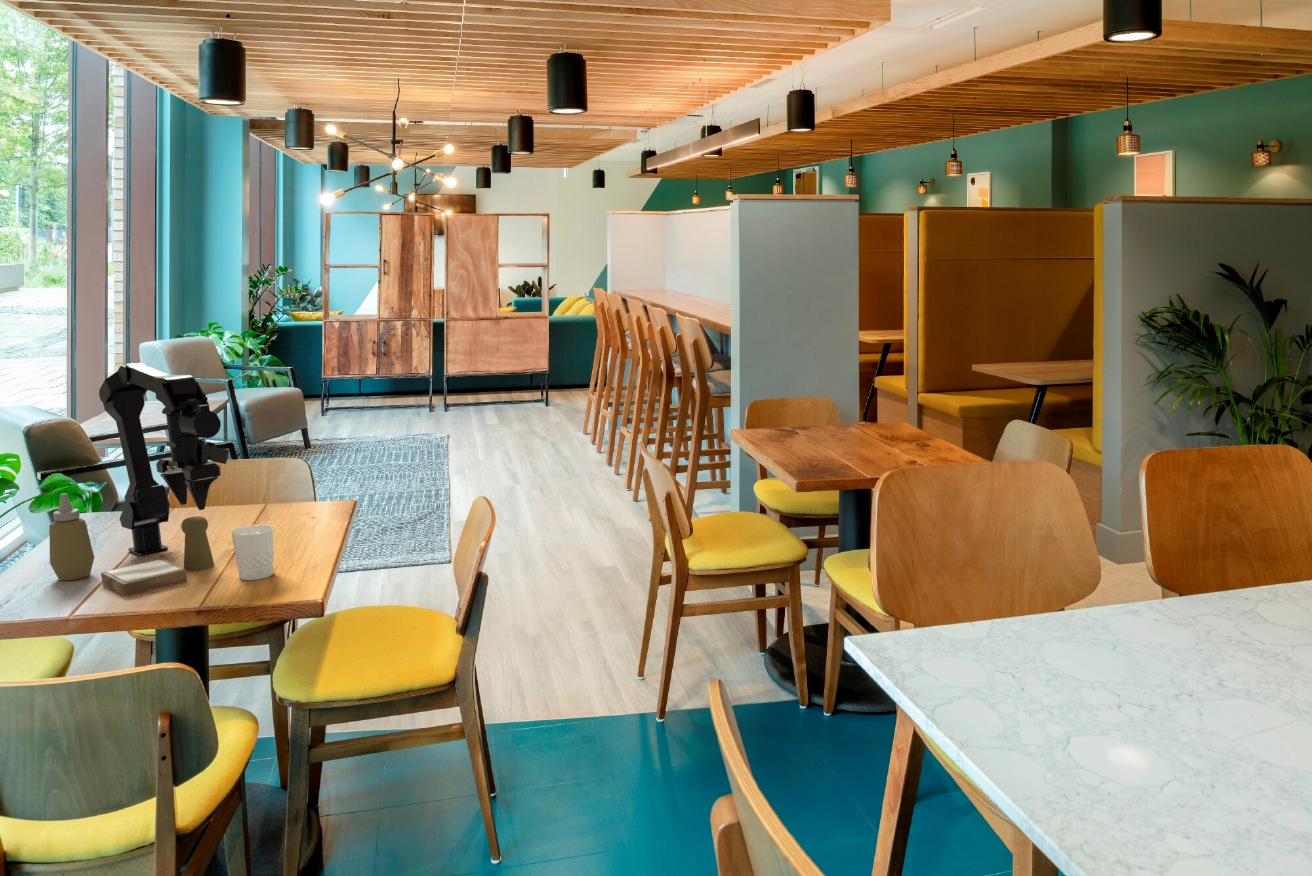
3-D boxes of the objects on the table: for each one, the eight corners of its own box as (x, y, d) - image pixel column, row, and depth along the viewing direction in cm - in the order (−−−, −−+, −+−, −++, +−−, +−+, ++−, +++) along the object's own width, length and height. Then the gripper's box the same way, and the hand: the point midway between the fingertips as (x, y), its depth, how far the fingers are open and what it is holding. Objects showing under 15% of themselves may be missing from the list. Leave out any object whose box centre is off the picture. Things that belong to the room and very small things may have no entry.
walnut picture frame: (102, 584, 200) (100, 571, 199) (162, 569, 208) (161, 557, 208) (125, 596, 192) (123, 583, 191) (186, 581, 200) (185, 568, 200)
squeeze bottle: (50, 585, 199) (39, 500, 196) (53, 574, 206) (42, 492, 203) (95, 579, 203) (85, 495, 200) (97, 568, 210) (86, 487, 207)
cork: (202, 571, 207) (197, 521, 205) (177, 570, 208) (171, 520, 206) (220, 563, 212) (215, 514, 210) (195, 561, 214) (190, 513, 212)
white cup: (284, 571, 206) (280, 526, 204) (258, 583, 198) (254, 536, 197) (254, 568, 208) (250, 523, 207) (227, 579, 201) (223, 533, 199)
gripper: (241, 433, 205) (249, 505, 207) (203, 427, 217) (211, 495, 220) (187, 440, 197) (196, 515, 199) (151, 434, 209) (160, 504, 212)
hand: (192, 507), depth 208 cm, fingers open, 9 cm apart
